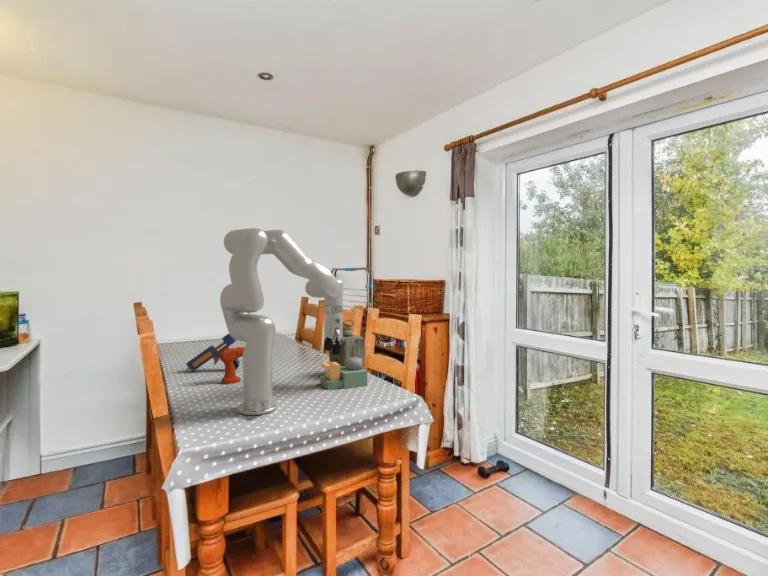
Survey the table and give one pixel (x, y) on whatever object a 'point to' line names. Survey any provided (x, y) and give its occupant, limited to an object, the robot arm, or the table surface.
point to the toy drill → (231, 364)
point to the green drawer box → (348, 375)
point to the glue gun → (210, 354)
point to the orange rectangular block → (332, 370)
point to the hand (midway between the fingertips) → (331, 352)
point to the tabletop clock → (349, 347)
